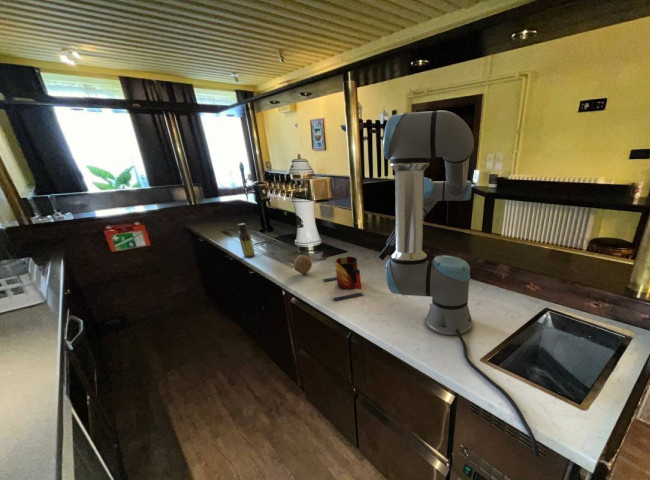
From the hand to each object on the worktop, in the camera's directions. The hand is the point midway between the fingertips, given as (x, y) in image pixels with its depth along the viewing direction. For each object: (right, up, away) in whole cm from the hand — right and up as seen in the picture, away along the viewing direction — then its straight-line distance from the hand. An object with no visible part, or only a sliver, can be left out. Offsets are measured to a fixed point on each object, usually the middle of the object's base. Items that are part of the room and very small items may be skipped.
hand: (380, 258), depth 136 cm
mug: (-13, -12, 0) cm, 18 cm away
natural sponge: (-38, -7, +16) cm, 42 cm away
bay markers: (-17, -13, -1) cm, 22 cm away
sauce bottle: (-80, +6, +46) cm, 92 cm away
